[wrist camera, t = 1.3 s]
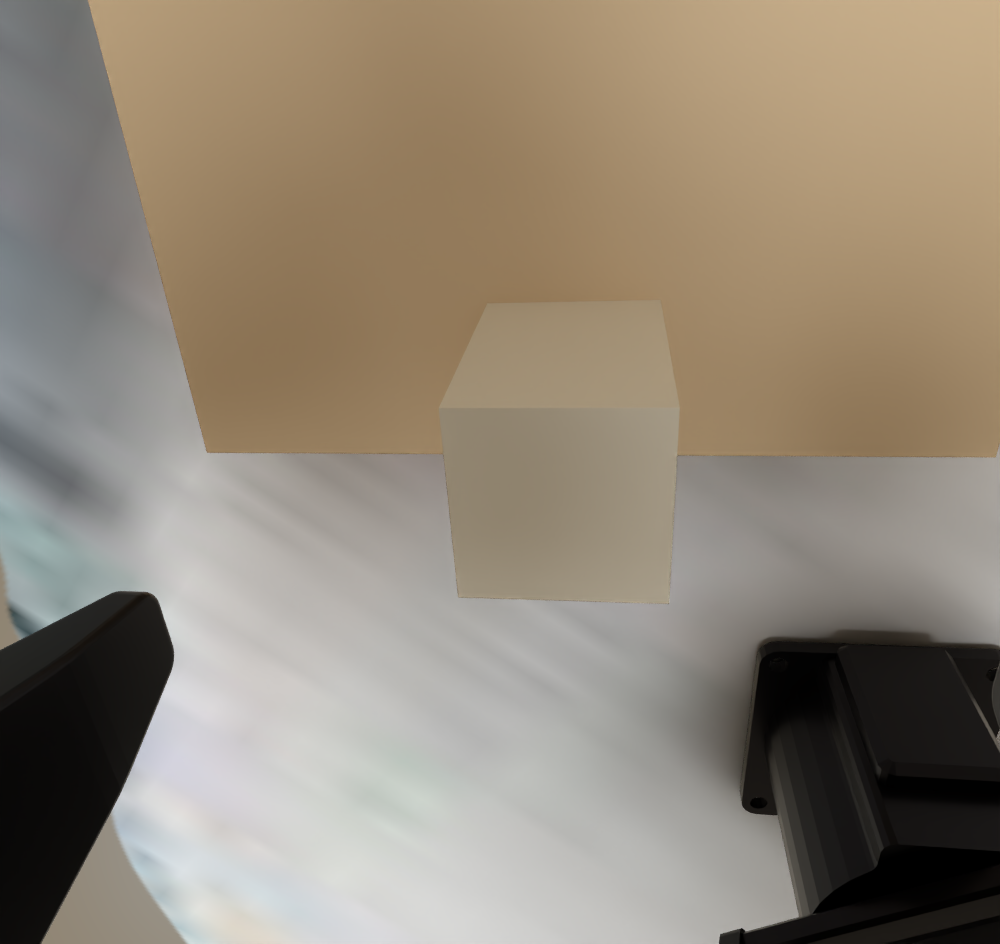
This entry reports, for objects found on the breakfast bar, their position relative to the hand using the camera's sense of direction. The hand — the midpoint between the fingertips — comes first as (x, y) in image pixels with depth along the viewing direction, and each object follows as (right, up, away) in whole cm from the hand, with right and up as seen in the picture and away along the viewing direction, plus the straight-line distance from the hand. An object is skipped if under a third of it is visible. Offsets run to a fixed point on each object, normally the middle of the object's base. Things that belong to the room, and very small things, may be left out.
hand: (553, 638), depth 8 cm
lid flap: (+1, +8, +4) cm, 9 cm away
